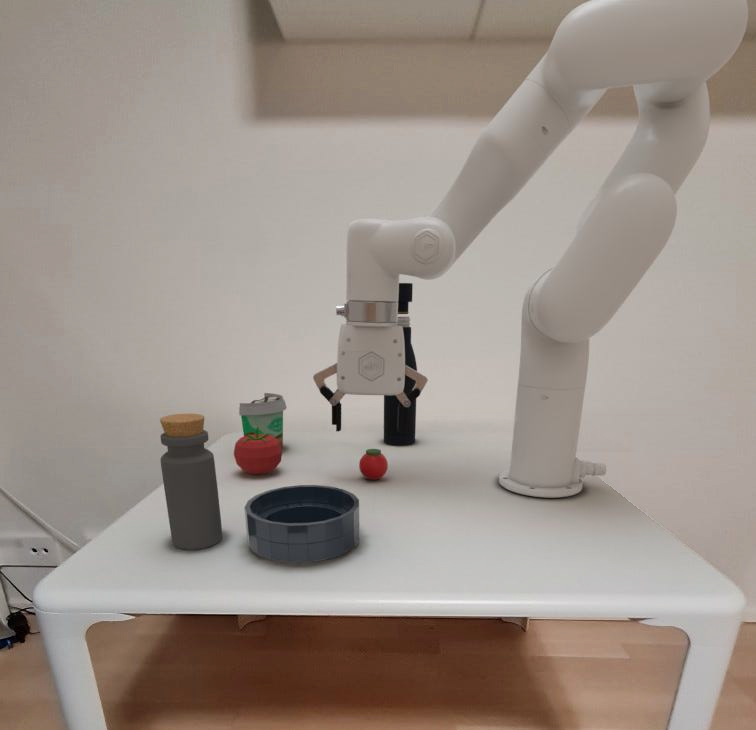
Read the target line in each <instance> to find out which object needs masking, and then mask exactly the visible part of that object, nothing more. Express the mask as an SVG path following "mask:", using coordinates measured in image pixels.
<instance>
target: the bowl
mask: <svg viewBox="0 0 756 730" xmlns="http://www.w3.org/2000/svg"><path fill="white" fill-rule="evenodd" d="M244 518H245V519H244V520H245V528H246V539H247V544H248V547H249V549H250V550H251V551H252V552H254V553H255V554H256V555H258V556H259V557H262V558H264V559H268V560H271V561H277V562H285V563H311V562H317V561H318V562H319V561H325V560H328V559H331V558H335V557H337V556H338V557H339V556H341V555H344V554H346V553H347V552H349V551H350V550H352V549H354V548H355V547H356V545H357V544H358V543H359V541H360V540H361V539H360V499H359V498H358V497H357V496H356V495H355V494H354V493H353V492H351V491H349V490H346V489H344V488H338V487H335V486H329V485H319V484H299V485H297V484H296V485H290V486H289V485H288V486H282V487H277V488H273V489H269V490H266V491H264V492H260V493H258V494H256V495H254V496H253V497H250V499H248V500H247V502H246V504H245V505H244Z"/></svg>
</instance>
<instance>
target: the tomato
mask: <svg viewBox="0 0 756 730" xmlns="http://www.w3.org/2000/svg"><path fill="white" fill-rule="evenodd" d="M258 429H259V428H258V427H257V430H256V434H254V435H249V434H248V435H245V436H244V435H243V436H241V437H239V439H238V440H236V442H235V444H234V450H233V457H234V460H235V463H236V465H237V466H238V467H239V468H240V469H241V470H242V471H243V472H245V473H247V474H251V475H252V474H253V475H264V474H268V473H271V472H273V471H274V470H275V469H276V468H277V467H278V466H279V465H280V464H281V462H282V458H283V457H282V456H283V450H282V449H281V446H280V443H279V441H278V440H277V439H276V438H275V437H273V436H271V435H272V434H268V433H267V434H258Z"/></svg>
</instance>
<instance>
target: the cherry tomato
mask: <svg viewBox="0 0 756 730" xmlns="http://www.w3.org/2000/svg"><path fill="white" fill-rule="evenodd" d="M388 467H389V464H388V459H387V458H386V456H385V455H384V454H383V453H382V450H381V449H378V448H367V449H366V450H365V453H364V454H363V455H362V456H361V458H360V459H359V463H358V468H359V471H360V473H361V475H362V476H363V477H365V478H366V479H368V480H371V481H374V480H379V479H381V478H383V477H384V476H385V475H386V473H387V472H388Z"/></svg>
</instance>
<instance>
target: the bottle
mask: <svg viewBox="0 0 756 730" xmlns="http://www.w3.org/2000/svg"><path fill="white" fill-rule="evenodd" d="M159 421H160V424H161V427H162V430H163V432H162V433H161V434H160V443H161V445H163V446H165V447H167V451H165V453H163V454H162V455H161V457H160V469H161V476H162V484H163V488H164V497H165V502H166V509H167V510H166V511H167V516H168V522H169V523H168V524H169V530H170V535H171V536H170V537H171V541H172V545H173V546H174V547H175V548H178V549H181V550H189V551H190V550H193V551H195V550H202V549H207V548H210V547H213V546H214V545H215V546H216V545H217V544H218V543H220V542H221V541H222V539H223V528H222V527H223V525H222V517H221V509H220V508H221V507H220V500H219V499H220V498H219V488H218V480H217V472H216V461H215V456H214V453H213V452H212V451H210V450H209V449H207V448H205V443H207V442H208V441H209V439H210V438H209V433H208V430H205V429H204V428H205V427H204V426H205V415H203V414H199V413H177V414H176V413H175V414H170V415H165V416H162V417H161V418H160V419H159Z"/></svg>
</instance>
